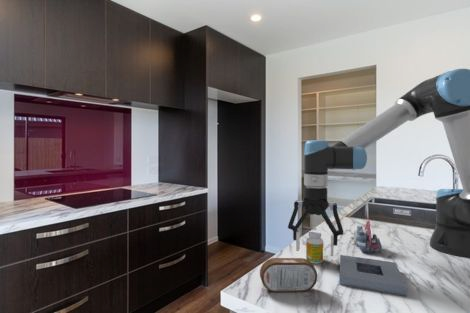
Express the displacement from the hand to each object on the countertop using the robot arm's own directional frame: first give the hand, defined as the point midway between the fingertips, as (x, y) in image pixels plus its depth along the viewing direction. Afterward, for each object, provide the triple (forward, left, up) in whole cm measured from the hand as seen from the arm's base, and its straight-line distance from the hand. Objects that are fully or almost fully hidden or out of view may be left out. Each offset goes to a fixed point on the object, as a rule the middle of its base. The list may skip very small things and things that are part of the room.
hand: (314, 252), depth 90 cm
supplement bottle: (0, 0, -3) cm, 3 cm away
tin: (+4, +22, -3) cm, 23 cm away
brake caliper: (-17, -18, -3) cm, 25 cm away
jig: (-16, +6, -3) cm, 17 cm away
